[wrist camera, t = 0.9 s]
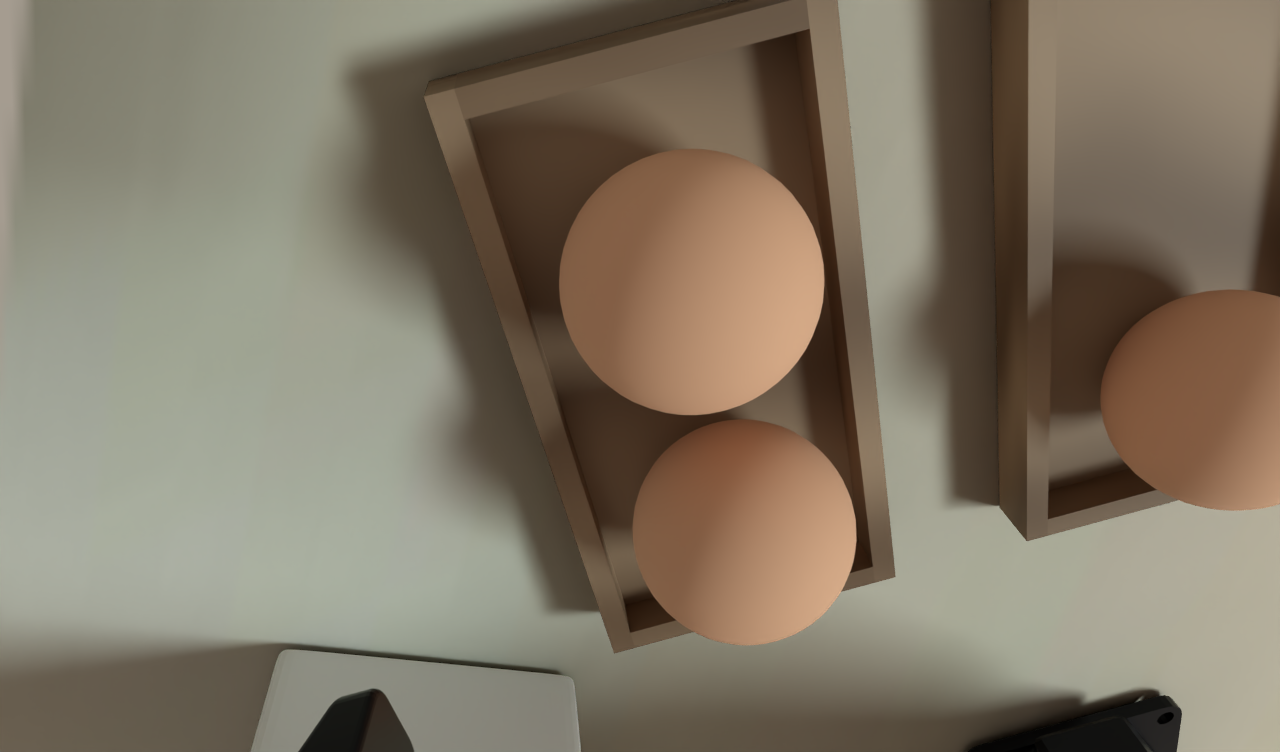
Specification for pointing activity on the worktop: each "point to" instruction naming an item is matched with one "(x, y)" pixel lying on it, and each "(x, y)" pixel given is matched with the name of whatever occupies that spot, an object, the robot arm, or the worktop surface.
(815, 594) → the ball
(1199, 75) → the trough
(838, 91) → the trough
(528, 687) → the milk carton
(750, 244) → the ball
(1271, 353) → the ball
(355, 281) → the worktop surface
